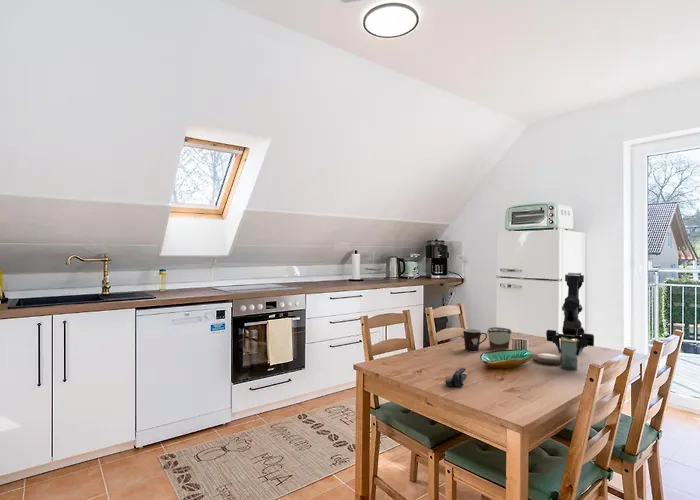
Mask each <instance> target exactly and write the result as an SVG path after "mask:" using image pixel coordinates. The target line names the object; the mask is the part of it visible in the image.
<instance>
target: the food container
mask: <svg viewBox="0 0 700 500" xmlns="http://www.w3.org/2000/svg"><path fill="white" fill-rule="evenodd" d="M487 333H488V344H489V349H492V348H501V349H500V350H509V348H510V340H511V334H513V333H512V330H511V329H510V328H507V327H499V326H497V327H496V326H495V327H494V326H493V327H488V329H487V331H486V334H487Z"/></svg>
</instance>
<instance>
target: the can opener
mask: <svg viewBox="0 0 700 500" xmlns="http://www.w3.org/2000/svg"><path fill="white" fill-rule="evenodd" d="M466 370H467V368H465V367H461V368H459V369H456V371H455V372H454V373H453V375H452V377H450V378H446V380H445V385H446V386H447V387H448V386H449V387H457V388H460V387H463V386H464V385H465V384H464V380H465V379H466V378H467V374H466V373H465V371H466Z"/></svg>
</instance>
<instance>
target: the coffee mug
mask: <svg viewBox="0 0 700 500" xmlns="http://www.w3.org/2000/svg"><path fill="white" fill-rule="evenodd" d="M462 332H463V340H464V341H463V342H464V348H465V349H466V350H468V351H467V352H470V351H477V352H479V347H480V345H481V344H482V343H483V342H485V341H486V340H487V338H488V335H487V332H482V331H481V330H480V329H476V328H464V329H463V331H462ZM482 335H485V338H484V339H483V340H481V336H482ZM480 340H481V341H480ZM465 349H464V350H465ZM466 350H465V351H466Z"/></svg>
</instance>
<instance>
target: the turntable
mask: <svg viewBox="0 0 700 500" xmlns="http://www.w3.org/2000/svg"><path fill="white" fill-rule="evenodd" d="M533 354H535V356H534V357H533V356H532V359H534V360H535V361H536V360H538V361H541V362H547V363H560V355H559V354H555V353H551V352H550V353H549V352H535V353H533Z"/></svg>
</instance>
